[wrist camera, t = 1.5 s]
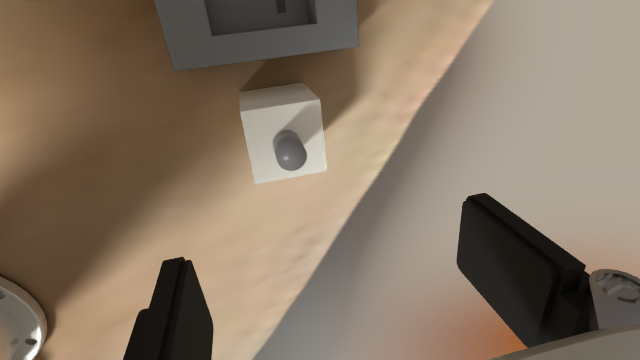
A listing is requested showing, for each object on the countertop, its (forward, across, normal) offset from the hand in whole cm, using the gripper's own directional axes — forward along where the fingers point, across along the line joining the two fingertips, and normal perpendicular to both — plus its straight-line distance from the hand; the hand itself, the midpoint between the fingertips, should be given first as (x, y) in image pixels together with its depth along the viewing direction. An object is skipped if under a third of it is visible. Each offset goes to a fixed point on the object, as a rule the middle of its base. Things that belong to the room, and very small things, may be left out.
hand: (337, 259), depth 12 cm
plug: (+18, 0, 0) cm, 18 cm away
